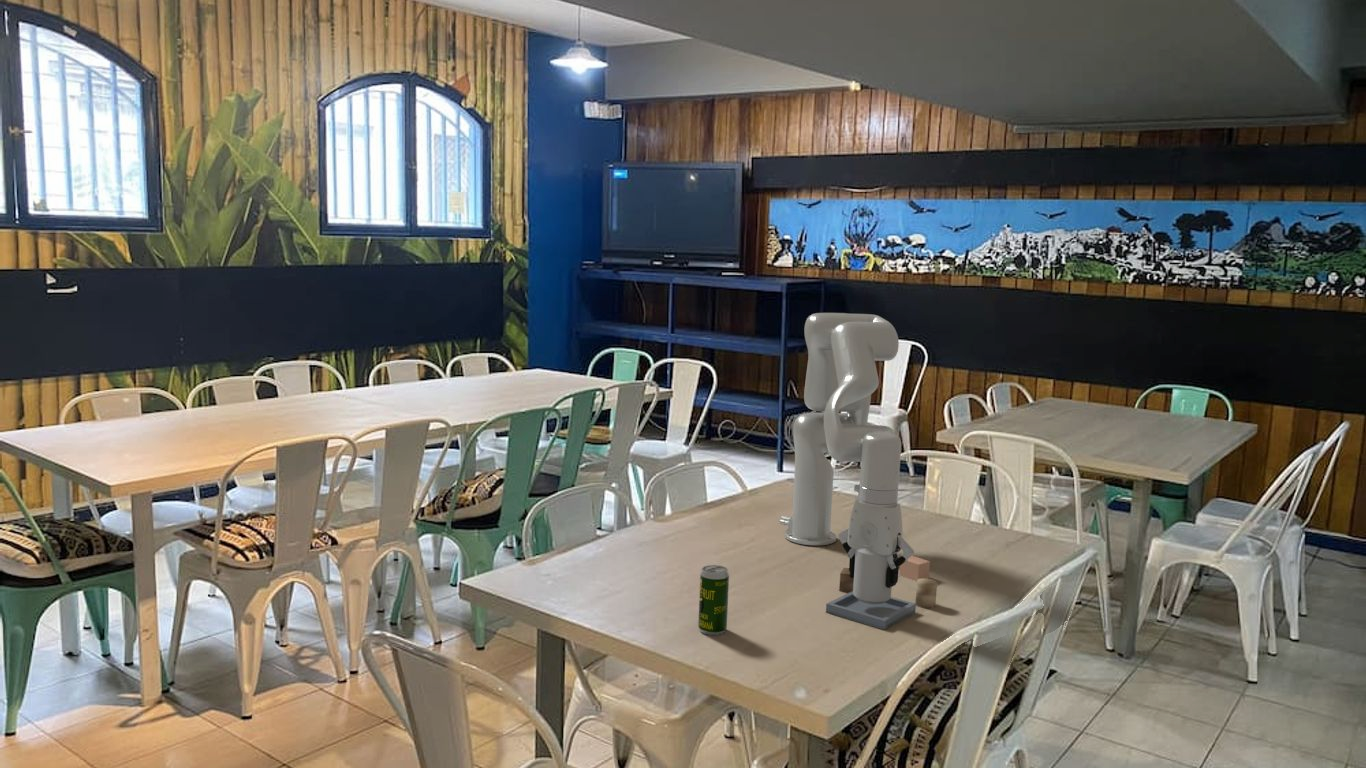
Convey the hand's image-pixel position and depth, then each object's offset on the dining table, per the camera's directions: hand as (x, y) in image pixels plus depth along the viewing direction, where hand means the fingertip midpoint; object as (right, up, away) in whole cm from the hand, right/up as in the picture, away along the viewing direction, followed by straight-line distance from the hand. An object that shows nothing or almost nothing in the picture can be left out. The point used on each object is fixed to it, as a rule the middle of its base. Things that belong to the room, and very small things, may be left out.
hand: (872, 580), depth 206 cm
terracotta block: (+14, -4, +24) cm, 28 cm away
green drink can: (-32, -7, -11) cm, 35 cm away
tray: (0, -7, +1) cm, 7 cm away
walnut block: (-2, -5, +14) cm, 15 cm away
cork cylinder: (+12, -6, +6) cm, 15 cm away
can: (0, -4, +1) cm, 4 cm away
